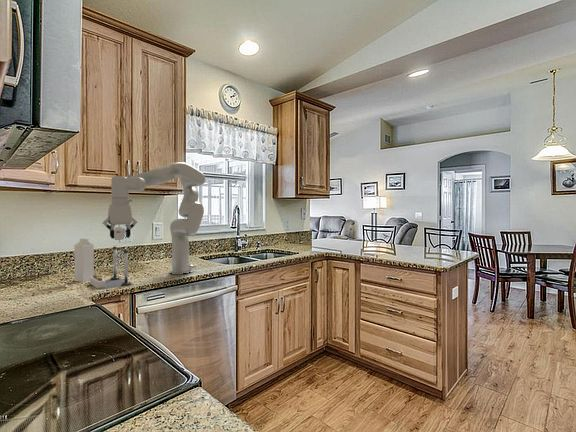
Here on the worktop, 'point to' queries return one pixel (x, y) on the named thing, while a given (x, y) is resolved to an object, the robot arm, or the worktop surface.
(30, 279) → the worktop surface
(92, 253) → the milk
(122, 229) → the power adapter
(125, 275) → the cord post
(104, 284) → the mat
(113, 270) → the cord post
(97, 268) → the worktop surface
